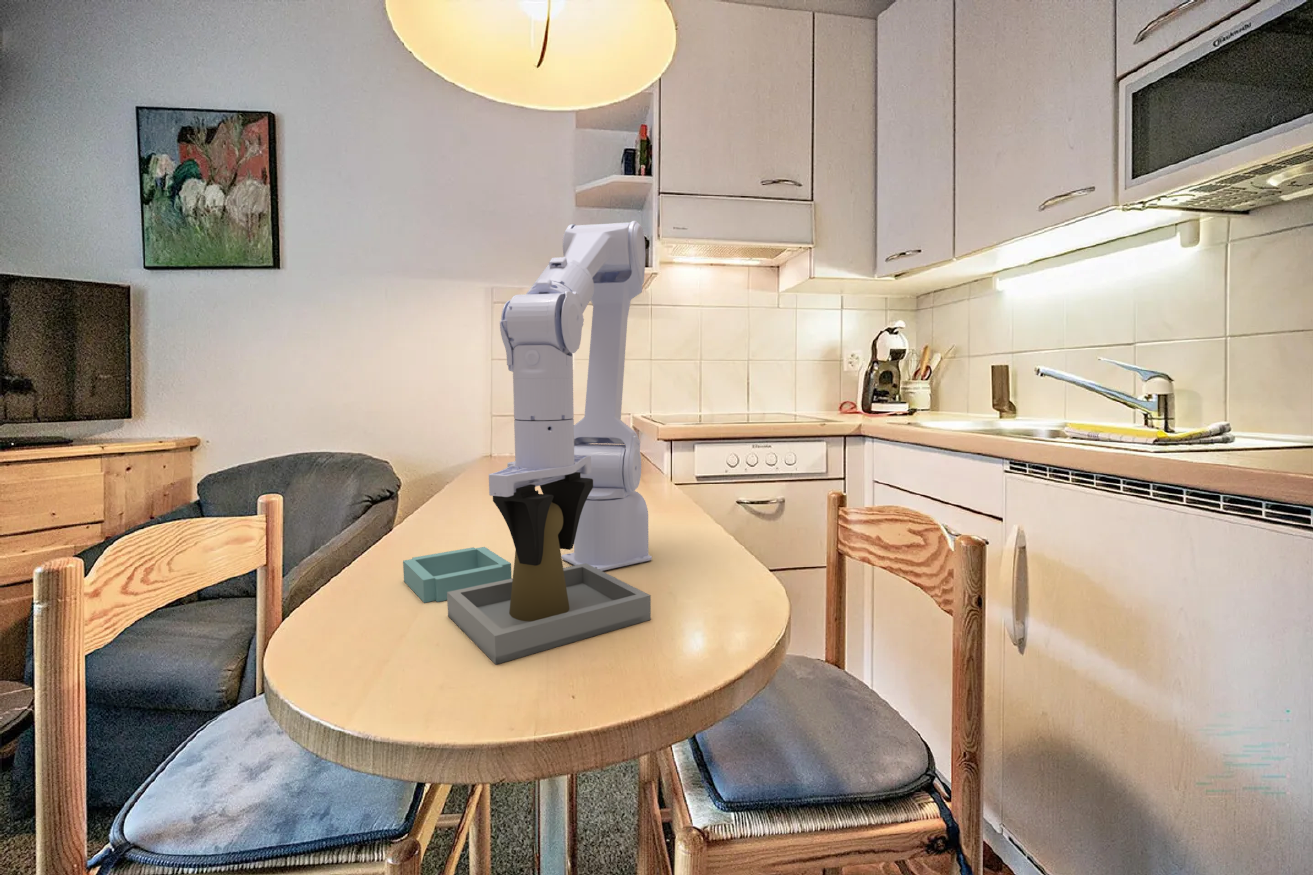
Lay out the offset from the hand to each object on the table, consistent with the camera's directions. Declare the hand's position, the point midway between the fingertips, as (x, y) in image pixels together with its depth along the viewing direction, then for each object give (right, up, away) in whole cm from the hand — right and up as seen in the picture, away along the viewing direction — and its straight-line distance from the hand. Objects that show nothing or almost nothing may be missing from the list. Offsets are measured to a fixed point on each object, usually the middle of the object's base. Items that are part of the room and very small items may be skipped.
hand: (547, 555), depth 60 cm
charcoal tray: (0, -6, +1) cm, 6 cm away
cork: (-1, -6, +1) cm, 6 cm away
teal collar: (-13, -5, +11) cm, 18 cm away
